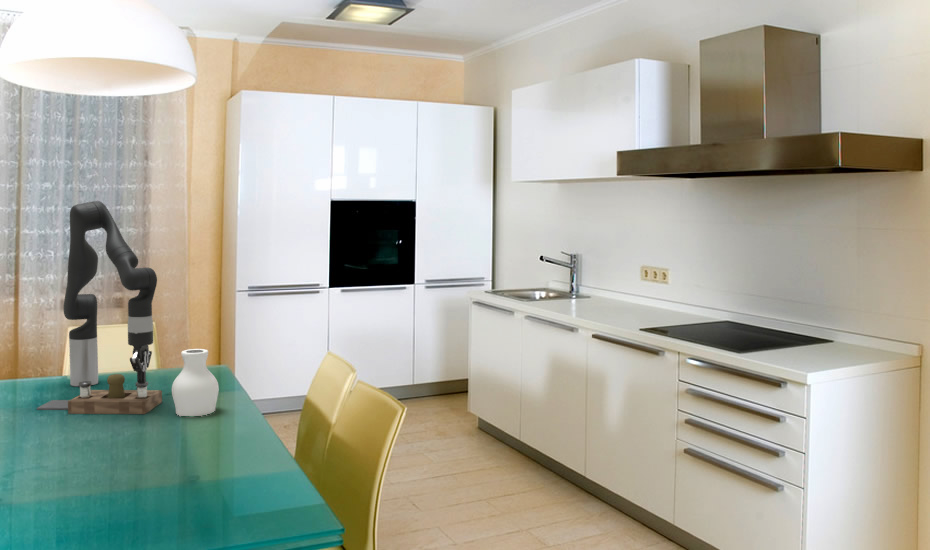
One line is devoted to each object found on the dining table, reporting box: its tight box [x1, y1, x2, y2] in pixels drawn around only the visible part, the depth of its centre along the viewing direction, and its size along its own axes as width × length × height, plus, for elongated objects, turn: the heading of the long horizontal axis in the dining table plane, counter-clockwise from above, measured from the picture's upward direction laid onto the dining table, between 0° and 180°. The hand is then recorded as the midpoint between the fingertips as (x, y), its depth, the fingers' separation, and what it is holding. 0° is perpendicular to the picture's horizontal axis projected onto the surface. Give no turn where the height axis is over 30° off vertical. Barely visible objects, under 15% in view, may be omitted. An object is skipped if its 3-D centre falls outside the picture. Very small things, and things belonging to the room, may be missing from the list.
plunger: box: [78, 381, 93, 399], centre depth 245 cm, size 4×4×8 cm
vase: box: [171, 348, 220, 417], centre depth 244 cm, size 14×14×20 cm
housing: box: [67, 389, 163, 415], centre depth 248 cm, size 15×24×4 cm, turn 93°
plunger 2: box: [134, 381, 149, 399], centre depth 246 cm, size 4×4×8 cm
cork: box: [106, 373, 126, 399], centre depth 248 cm, size 6×6×11 cm
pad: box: [36, 399, 70, 411], centre depth 249 cm, size 10×10×1 cm
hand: (141, 382), depth 246 cm, fingers closed
